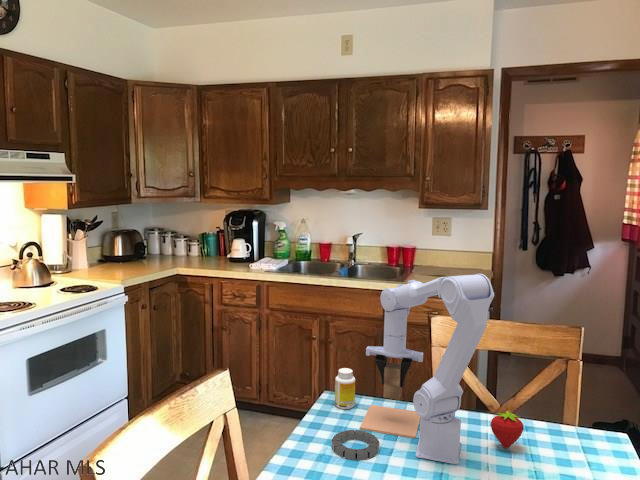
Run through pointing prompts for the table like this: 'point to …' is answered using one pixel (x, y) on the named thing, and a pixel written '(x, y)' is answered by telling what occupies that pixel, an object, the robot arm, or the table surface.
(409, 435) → the terracotta tile
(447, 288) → the robot arm
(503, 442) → the strawberry
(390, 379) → the link block
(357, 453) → the holder ring
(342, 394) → the supplement bottle
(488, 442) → the table surface
